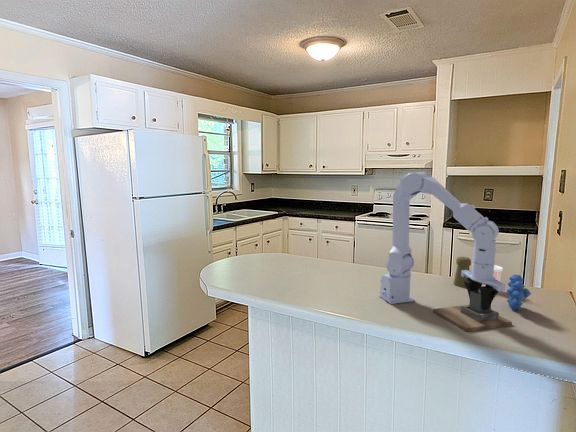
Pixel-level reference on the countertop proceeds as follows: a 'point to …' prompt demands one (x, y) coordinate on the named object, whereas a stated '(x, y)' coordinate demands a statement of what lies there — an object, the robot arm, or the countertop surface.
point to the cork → (462, 264)
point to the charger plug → (477, 302)
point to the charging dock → (471, 318)
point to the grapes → (516, 292)
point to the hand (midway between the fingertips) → (479, 306)
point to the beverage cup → (497, 272)
